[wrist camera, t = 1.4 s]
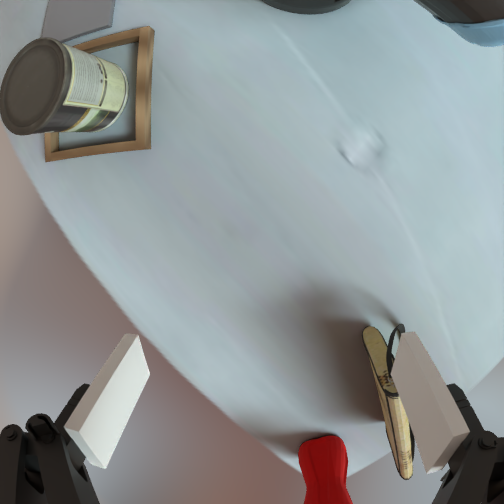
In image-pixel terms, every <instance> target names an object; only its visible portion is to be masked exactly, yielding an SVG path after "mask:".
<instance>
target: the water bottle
mask: <svg viewBox="0 0 504 504" xmlns="http://www.w3.org/2000/svg"><path fill="white" fill-rule="evenodd" d="M298 457H299V464H300V468H301V471H302V474H303V477H304V480H305V483H306V486H307V491H306V497H305V501H304V504H353V503H352V500H351V498H350V496H349V493H348V491H347V489H346V477H347V467H348V457H347V452H346V447H345V445H344V442H343V440H342V439H341V438H339V437H337V436H332V435H329V436H324V437H321V438H318V439H313V440H309V441H306V442H304V443H303V444H302V445H301V446H300V448H299V452H298Z"/></svg>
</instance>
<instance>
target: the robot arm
mask: <svg viewBox="0 0 504 504" xmlns="http://www.w3.org/2000/svg"><path fill="white" fill-rule="evenodd" d="M262 1H264V2H265V3H267V4H269V5H271V6H273V7H275V8H278V9H281V10H284V11H288V12H292V13H298V14H322V13H327V12H331V11H334V10H337V9H339V8H341V7H343V6H345V5H346V4H347V3H349V2H350V1H351V0H262ZM414 1H415V2H416V3H418V4H419V5H421V6H422V7H423V8H425V9H426V10H427V11H429V12H430V13H431V14H433V16H434V18H435V19H437V20H438V21H439V22H441V23H443V24H445V25H447V26H449V27H450V28H451V29H452V30H454V31H455V32H456V33H457V34H459V35H460V36H461V37H462V38H464V39H465V40H467V41H468V42H470V43H472V44H477V45H480V46H484V47H495V46H501V45H504V0H414ZM149 375H150V372H149V370H148V366H147V363H146V360H145V357H144V354H143V350H142V346H141V343H140V340H139V336H138V335H136V334H125V335H124V336H123V338H122V339H121V340H120V342H119V343H118V345H117V346H116V348H115V349H114V351H113V352H112V353H111V355H110V356H109V358H108V359H107V361H106V362H105V364H104V365H103V367H102V368H101V370H100V371H99V373H98V374H97V376H96V377H95V379H94V380H93V382H92V383H91V385H89V384H83V385H82V386H81V387H79V388H78V389H77V390H76V391H75V392H74V394H73V396H72V397H71V399H70V400H69V401H68V403H67V405H66V406H65V407H64V409H63V410H62V412H61V414H60V415H59V417H58V418H57V420H56V421H55V423H53V421H52V420H51V418H50V417H49V416H48V415H46V414H42V413H41V414H36V415H33V416H32V417H31V418H29V419H28V421H27V423H26V427H25V428H26V429H27V431H28V432H29V433H27V432H23V431H22V429H21V428H20V427H19V426H18V425H15V424H12V425H8V426H6V427H5V428H4V429H3V430H2V432H1V434H0V504H100V503H99V501H98V498H97V496H96V493H95V491H94V488H93V486H92V483H91V480H90V478H89V475H88V472H87V469H86V467H85V465H84V463H83V462H84V460H85V458H87V459H88V461H89V462H90V463H91V464H92V465H95V466H98V467H101V468H104V469H106V467H107V465H108V463H109V461H110V458H111V456H112V454H113V452H114V449H115V447H116V445H117V443H118V441H119V439H120V436H121V434H122V432H123V430H124V428H125V426H126V423H127V421H128V419H129V417H130V415H131V413H132V411H133V409H134V407H135V405H136V402H137V400H138V398H139V396H140V394H141V392H142V390H143V388H144V386H145V384H146V382H147V380H148V378H149ZM391 376H392V379H393V381H394V384H395V386H396V389H397V391H398V394H399V397H400V399H401V402H402V404H403V407H404V410H405V412H406V415H407V418H408V421H409V423H410V426H411V429H412V432H413V435H414V437H415V440H416V443H417V446H418V449H419V452H420V455H421V458H422V461H423V464H424V467H425V470H426V474H428V473H432V472H435V471H439V470H442V469H443V468H444V466H445V465H446V464H447V463H448V464H449V467H450V469H449V470H448V472H447V473H446V474H445V475H444V476H443V477H442V479H441V481H443V483H442V485H441V487H440V489H439V491H438V493H437V495H436V497H435V499H434V500H433V502H432V504H504V437H501V438H498V437H497V436H496V435H495V434H494V433H492V432H490V431H485V430H484V429H483V427H482V425H481V423H480V421H479V419H478V418H477V416H476V414H475V412H474V410H473V408H472V407H471V406H470V403H469V401H468V400H467V397H466V396H465V394H464V392H463V390H462V389H460V388H459V387H458V386H457V385H456V384H455V383H454V384H449V385H446V384H445V382H444V380H443V379H442V377H441V375H440V373H439V371H438V370H437V368H436V366H435V364H434V363H433V361H432V359H431V358H430V356H429V354H428V352H427V351H426V349H425V347H424V346H423V344H422V342H421V341H420V339H419V337H418V336H417V334H416V333H415V332H407V333H402V334H401V338H400V342H399V346H398V349H397V353H396V357H395V360H394V364H393V367H392V371H391Z"/></svg>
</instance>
